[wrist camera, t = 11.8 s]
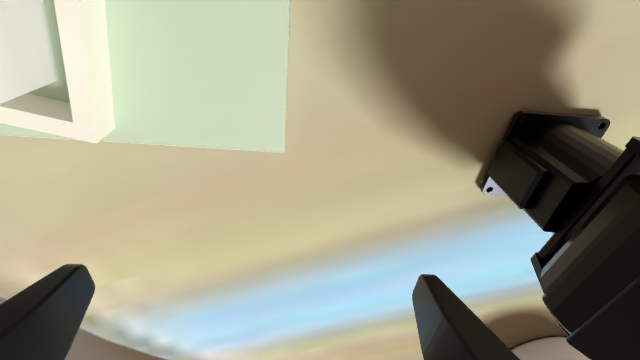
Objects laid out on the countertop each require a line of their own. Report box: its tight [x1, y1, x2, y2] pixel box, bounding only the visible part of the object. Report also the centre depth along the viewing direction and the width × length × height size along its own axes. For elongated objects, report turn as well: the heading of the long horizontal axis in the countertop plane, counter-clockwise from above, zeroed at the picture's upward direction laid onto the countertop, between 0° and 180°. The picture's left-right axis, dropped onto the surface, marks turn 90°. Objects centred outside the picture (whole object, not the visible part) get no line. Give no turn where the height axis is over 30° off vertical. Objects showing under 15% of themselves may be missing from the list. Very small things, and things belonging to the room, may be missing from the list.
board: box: [0, 0, 290, 153], centre depth 15 cm, size 20×15×1 cm
